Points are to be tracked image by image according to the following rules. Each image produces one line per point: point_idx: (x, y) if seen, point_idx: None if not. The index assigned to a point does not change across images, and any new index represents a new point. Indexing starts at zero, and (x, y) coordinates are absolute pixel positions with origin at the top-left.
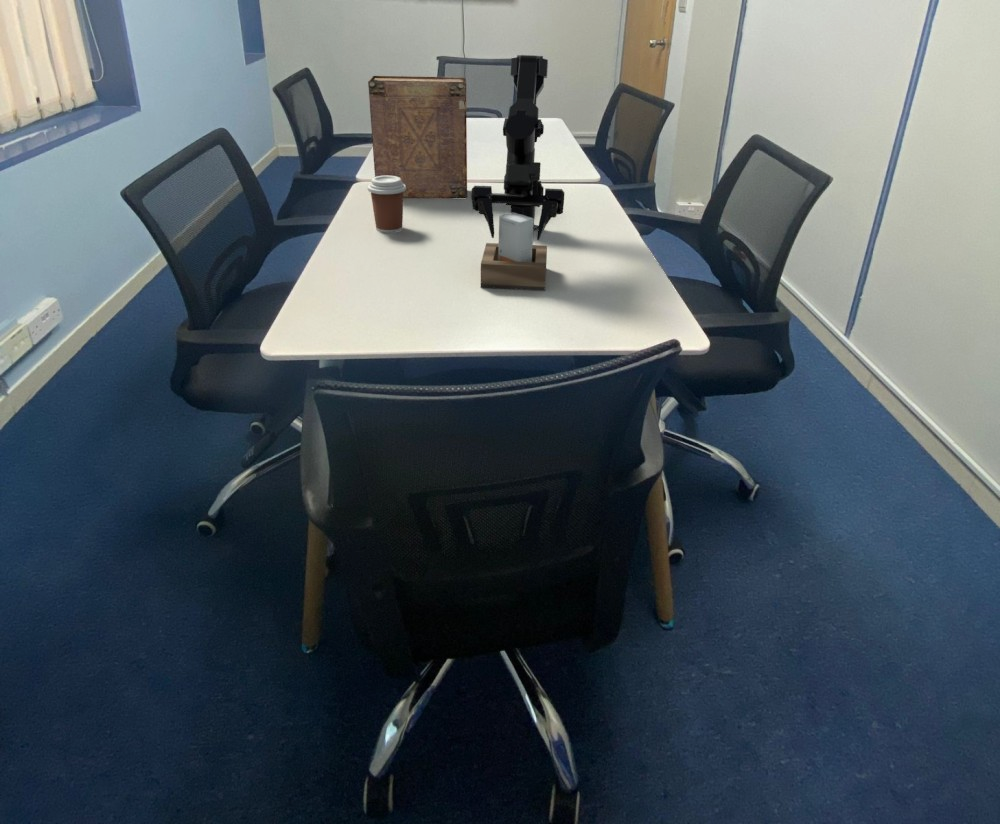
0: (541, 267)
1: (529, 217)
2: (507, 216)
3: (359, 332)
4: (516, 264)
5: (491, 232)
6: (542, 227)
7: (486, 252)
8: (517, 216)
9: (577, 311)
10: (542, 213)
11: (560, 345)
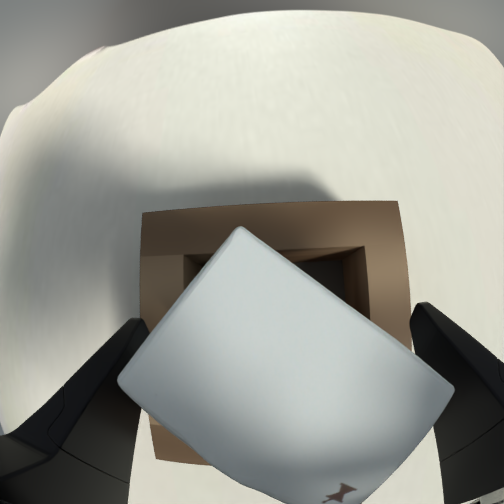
0: (160, 212)
1: (155, 402)
2: (393, 394)
3: (453, 54)
4: (261, 217)
5: (436, 308)
6: (90, 357)
7: (402, 339)
8: (289, 421)
9: (112, 134)
10: (52, 440)
11: (169, 31)
